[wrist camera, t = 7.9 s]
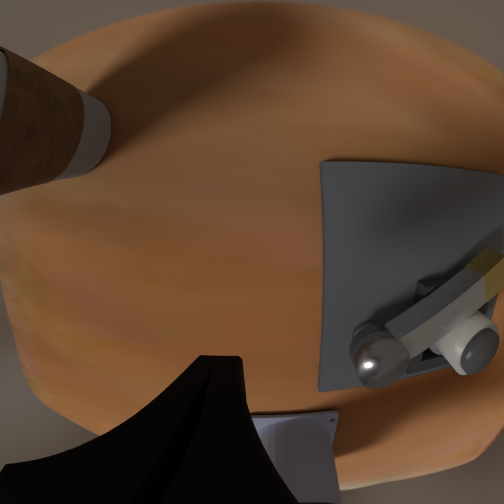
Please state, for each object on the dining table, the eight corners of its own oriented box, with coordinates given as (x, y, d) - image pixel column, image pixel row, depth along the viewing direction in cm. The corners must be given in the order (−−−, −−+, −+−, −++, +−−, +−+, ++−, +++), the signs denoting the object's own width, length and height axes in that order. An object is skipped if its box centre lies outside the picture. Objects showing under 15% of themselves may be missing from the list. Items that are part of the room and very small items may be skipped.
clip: (358, 372, 16) (368, 396, 14) (341, 340, 15) (350, 364, 13) (492, 278, 14) (512, 290, 11) (485, 240, 13) (508, 249, 11)
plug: (460, 340, 17) (492, 373, 12) (415, 351, 17) (445, 392, 12) (473, 286, 16) (514, 313, 11) (427, 294, 16) (467, 328, 11)
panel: (475, 352, 18) (485, 362, 16) (317, 385, 19) (321, 402, 17) (501, 175, 14) (517, 176, 12) (319, 162, 15) (326, 159, 13)
